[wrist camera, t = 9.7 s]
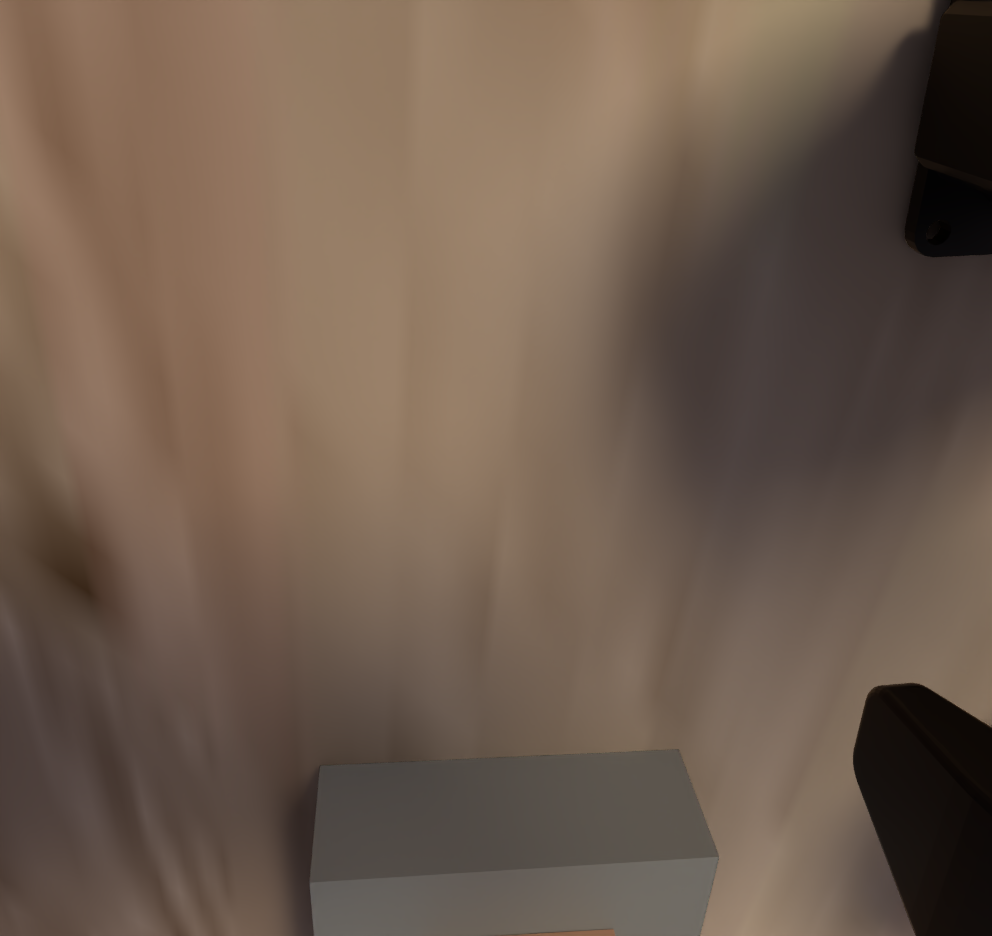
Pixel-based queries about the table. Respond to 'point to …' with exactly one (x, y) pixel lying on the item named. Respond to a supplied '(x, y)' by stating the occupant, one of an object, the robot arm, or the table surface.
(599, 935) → the terracotta cube
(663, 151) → the table surface
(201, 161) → the table surface
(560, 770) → the slate block
